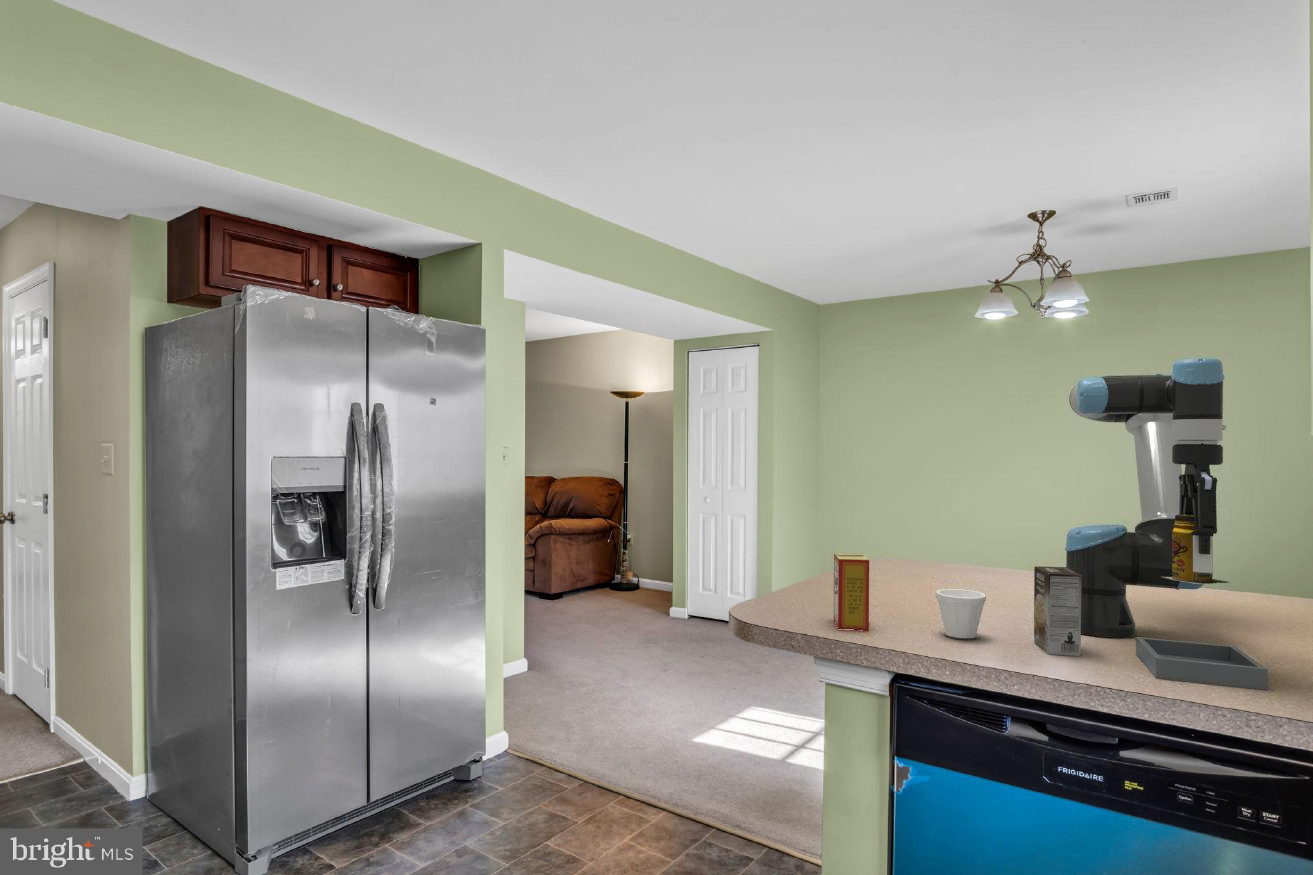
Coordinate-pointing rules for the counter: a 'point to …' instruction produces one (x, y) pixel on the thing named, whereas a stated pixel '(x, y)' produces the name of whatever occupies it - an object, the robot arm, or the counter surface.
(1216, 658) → the tray
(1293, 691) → the counter surface
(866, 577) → the baking soda box
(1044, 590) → the coffee box
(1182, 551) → the condiment
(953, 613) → the cup
